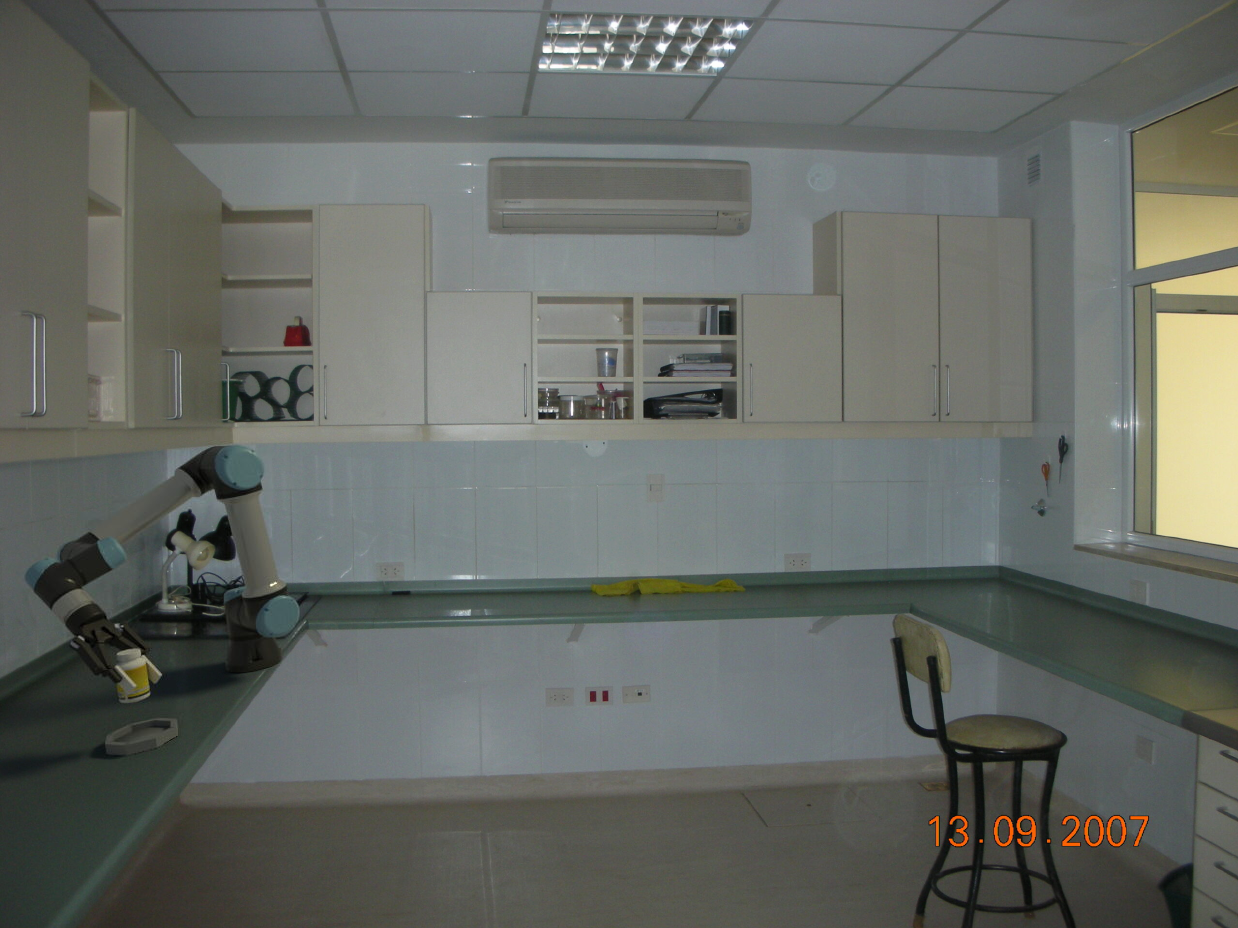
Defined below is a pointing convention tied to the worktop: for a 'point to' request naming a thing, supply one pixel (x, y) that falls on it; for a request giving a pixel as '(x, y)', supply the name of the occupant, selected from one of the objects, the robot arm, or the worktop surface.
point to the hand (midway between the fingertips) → (145, 684)
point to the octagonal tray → (141, 736)
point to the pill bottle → (133, 675)
